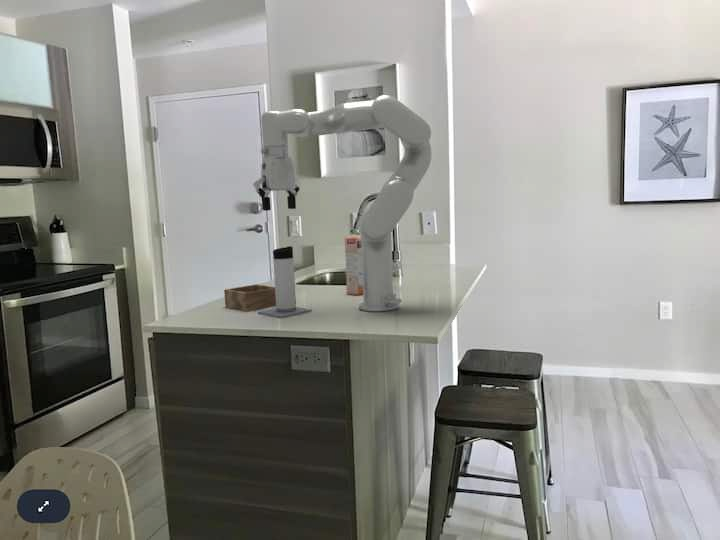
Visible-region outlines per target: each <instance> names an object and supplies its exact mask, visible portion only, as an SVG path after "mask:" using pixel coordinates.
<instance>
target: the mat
mask: <svg viewBox="0 0 720 540" xmlns="http://www.w3.org/2000/svg"><path fill="white" fill-rule="evenodd" d="M312 310H313V309H310V308H306V307H300V306H296V310H295V311H292V312H278V311H276V307H273V308H270V309H269V308H268V309H266V310H259V311H257V314H258V315H264V316H268V317H273V318H277V319H278V318H279V319H284V318H288V317H292V316H297V315H302V314H307V313H311V312H313V311H312Z"/></svg>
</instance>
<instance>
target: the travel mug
mask: <svg viewBox="0 0 720 540" xmlns="http://www.w3.org/2000/svg"><path fill="white" fill-rule="evenodd" d="M293 247H294V246H286V247H279V248H275V249H274V250H273V251H272V256H273V258H272V259H273V275H274V277H273V278H274V287H275V296H276V306H275V308H276V311H278V312H292V311H295V310H296V307H297V302H296V301H297V298H296V282H295V281H296V280H295V279H296V278H295V263H294V250H293V249H294V248H293Z"/></svg>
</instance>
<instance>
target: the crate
mask: <svg viewBox="0 0 720 540" xmlns="http://www.w3.org/2000/svg"><path fill="white" fill-rule="evenodd" d="M224 303H225V308H227V307H229V308H228V309H232V308H233V309H232V310H236V311H238V310H239V311H242V312H246V313H248V312H252V311H253V312H254V311H257V310H262V309H266V308H268V309H269V308H272V307H273V308H274V307H276V296H275V286H270V285H263V284H259V283H258V284H257V283H256V284H250V285H245V286H238V287H233V288H231V287H230V288H225V289H224Z"/></svg>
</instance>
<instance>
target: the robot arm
mask: <svg viewBox="0 0 720 540" xmlns="http://www.w3.org/2000/svg"><path fill="white" fill-rule="evenodd" d="M260 120H261V121H260V122H261V134H262V149H260V154H263V158H262V159H261V169H260V178H258V179H257V180H256V181H254V182H253V186H254V189H255V192H256V193H257V194H258V195H259V197H260V198H261V207H262V211H266V212H267V211H271V208H272V207H271V198H270V196H269V195H270V194H271V192H274V191H285V192H286V193H287V195H288V196H287V209H288V210H289V209H290V210H295V209H297V205H296V204H297V203H296V201H297V200H296V197H297V196H298V192H299V191H300V187H301V186H302V185H301V184H302V181H301V180H298V179H297V178H296V176H295V169H294V163H293V160H292V157H289V143H288V134H291V135H294V136H295V137H299V138H309V137H317V136H319V137H320V136H326V135H327V136H328V135H332V134H344V133H349V132H357V131H365V130H374V129H382V128H384V129H387V131H389V132H390V133H392V134H393V135H394V136H396V137H397V138H398V139H399V140H400V143H401V144H402V146H403V149H404V153H403V156H402V159H401V160H400V161H399V164H398V165H397V167H396V168H395V169H394V171H393V173H392V174H391V176H389V178H388V179H387V181H385V182H384V184H383V185H382V187H381V189H380V192H379V193H378V194H377V196H376V197H375V199H373V202H372V203H371V205H370V206H369V207H368V209H366V210H365V211H364V212H363V213H362V215H361V217H360V220H359V230H360V231H359V233H360V235H361V251H362V275H363V294H362V295H363V302H360V303H359V304H358V309H359V310H360V311H364V312H386V311H393V310H396V309H398V308H399V305H400V304H402V299H401V298H398V297H397V295H396V293H394V280H393V279H394V276H393V246H392V244H393V243H392V234H391V233H392V232H393V230H394V229H395V228H396V226H397V225H398V223H399V222H400V221H401V219H402V218H403V216H404V214H405V213H406V212H407V210H408V209H409V208H410V206H411V204H412V202H413V200H414V193H415V190H416V189H417V188H418V186H419V185H420V183H421V182H422V179H424V176H425V175H426V174H427V171H428V170H429V168H430V165H431V161H432V147H431V143H430V140H431V136H432V129H431V127H430V125H429V124H428V122H427V121H426V120H425V119H424V118H422V117H421V116H419V115H418V114H417V113H416V112H414V111H413V110H412V109H410V108H409V107H408V106H406V105H405V104H404V103H402V102H401V101H400V100H399V99H397V98H396V97H394V96H392V95H389V94H382V95H379V96H378V97H376V98H374V99H370V100H361V101H360V100H359V101H352V102H344V103H340V104H337V105H335V106H334V107H332V108H329V109H325V110H320V111H311V112H307V111H306V110H304V109H301V108H293V109H289V110H288V109H287V110H282V111H280V110H279V111H278V110H270V111H268V110H267V111H264V112H263V113H262V114H261V119H260Z"/></svg>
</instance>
